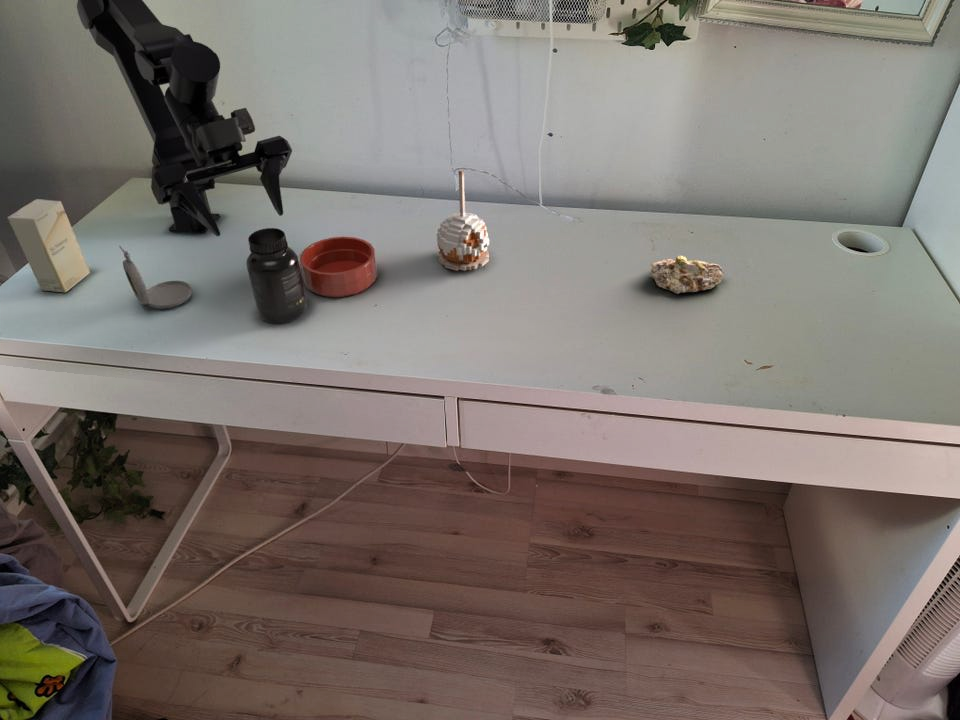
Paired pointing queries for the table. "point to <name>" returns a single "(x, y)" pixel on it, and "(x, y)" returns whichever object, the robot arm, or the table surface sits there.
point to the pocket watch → (155, 288)
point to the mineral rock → (686, 275)
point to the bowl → (338, 266)
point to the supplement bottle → (275, 277)
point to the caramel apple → (463, 238)
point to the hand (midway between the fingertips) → (250, 224)
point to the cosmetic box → (49, 245)
